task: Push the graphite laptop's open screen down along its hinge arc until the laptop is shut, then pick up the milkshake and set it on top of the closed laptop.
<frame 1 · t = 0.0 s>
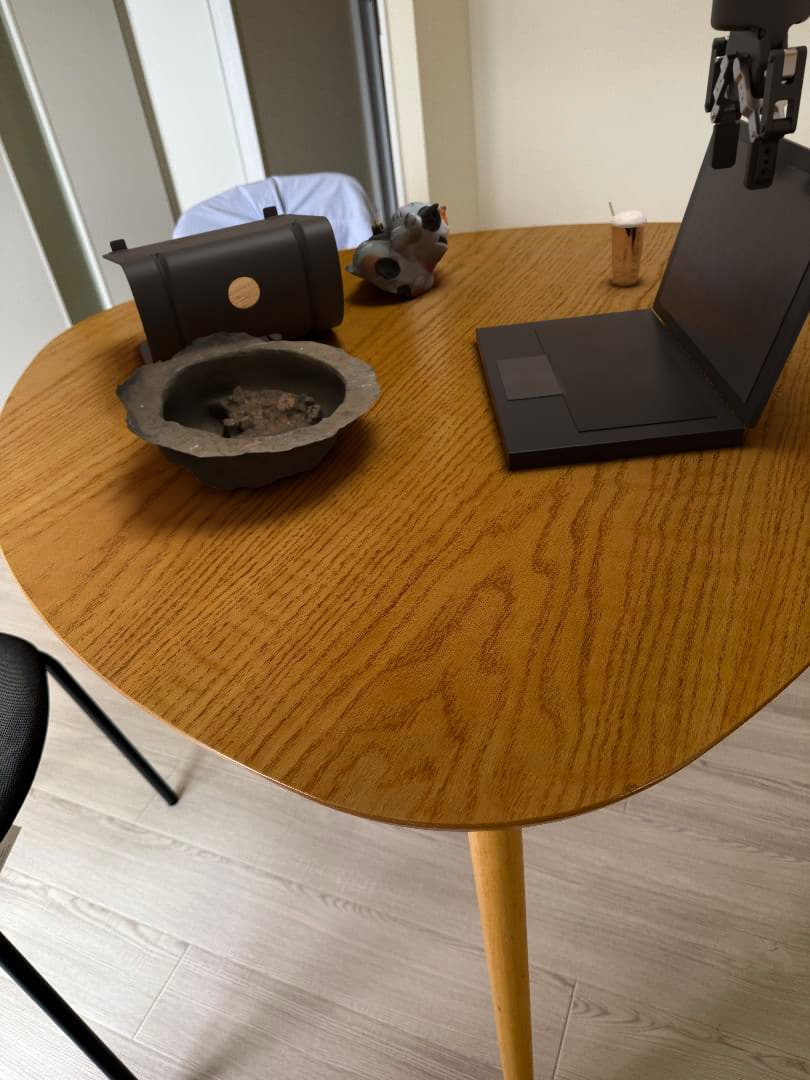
hand: (738, 177, 70), 19 cm above the table, tool pointing down, fingers open, 8 cm apart
lucky cat figurine: (402, 286, 115), on the table
dark piece: (240, 346, 103), on the table
milkshake: (622, 282, 106), on the table
tape measure: (703, 317, 94), on the table
stone bowl: (266, 450, 79), on the table
laptop: (589, 386, 83), on the table
laptop screen: (735, 257, 75), point 12 cm above the table, hinge at 105.0°
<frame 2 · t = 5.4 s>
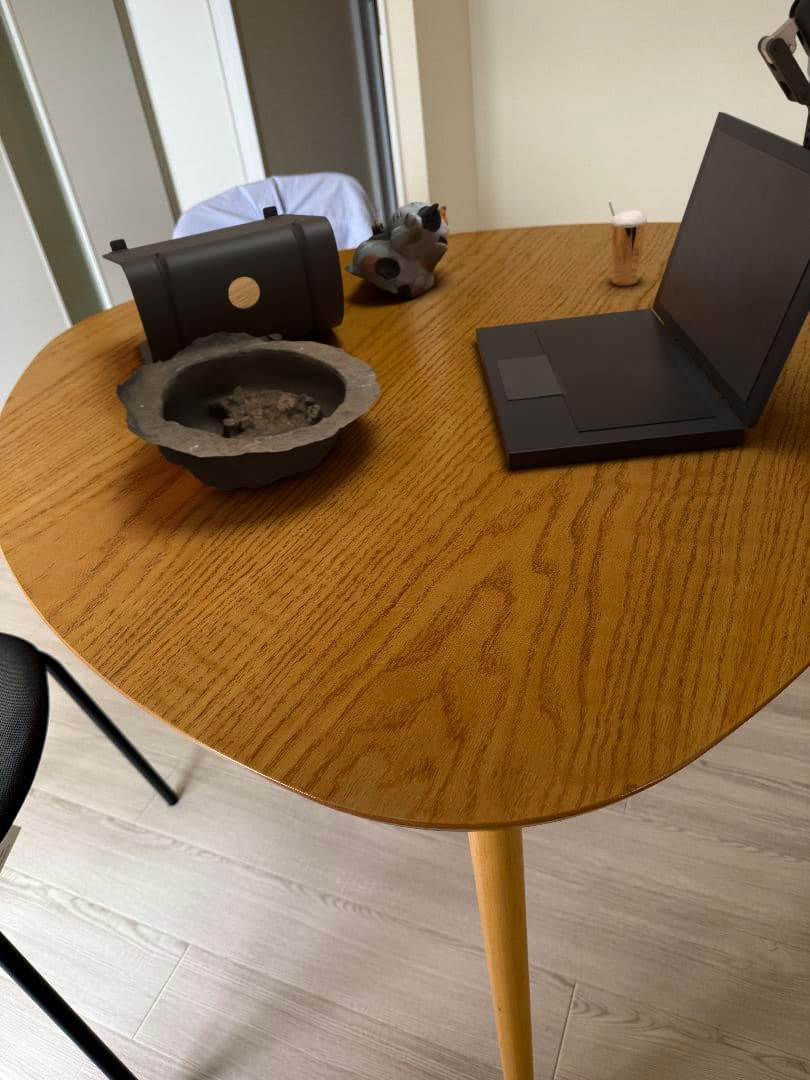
laptop screen: (735, 257, 75), point 12 cm above the table, hinge at 104.7°, touching gripper
everything else where it was.
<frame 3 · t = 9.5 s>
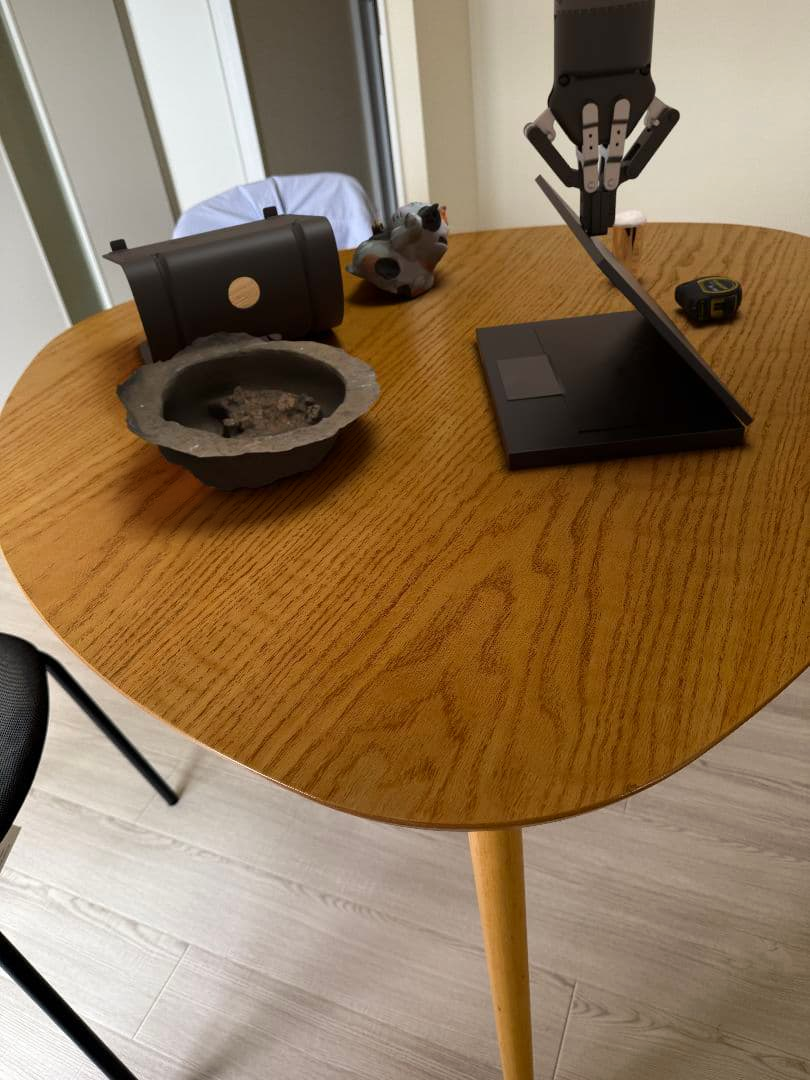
hand: (596, 233, 69), 17 cm above the table, tool pointing down, fingers closed
laptop screen: (632, 288, 77), point 10 cm above the table, hinge at 48.8°, touching gripper
everything else where it was.
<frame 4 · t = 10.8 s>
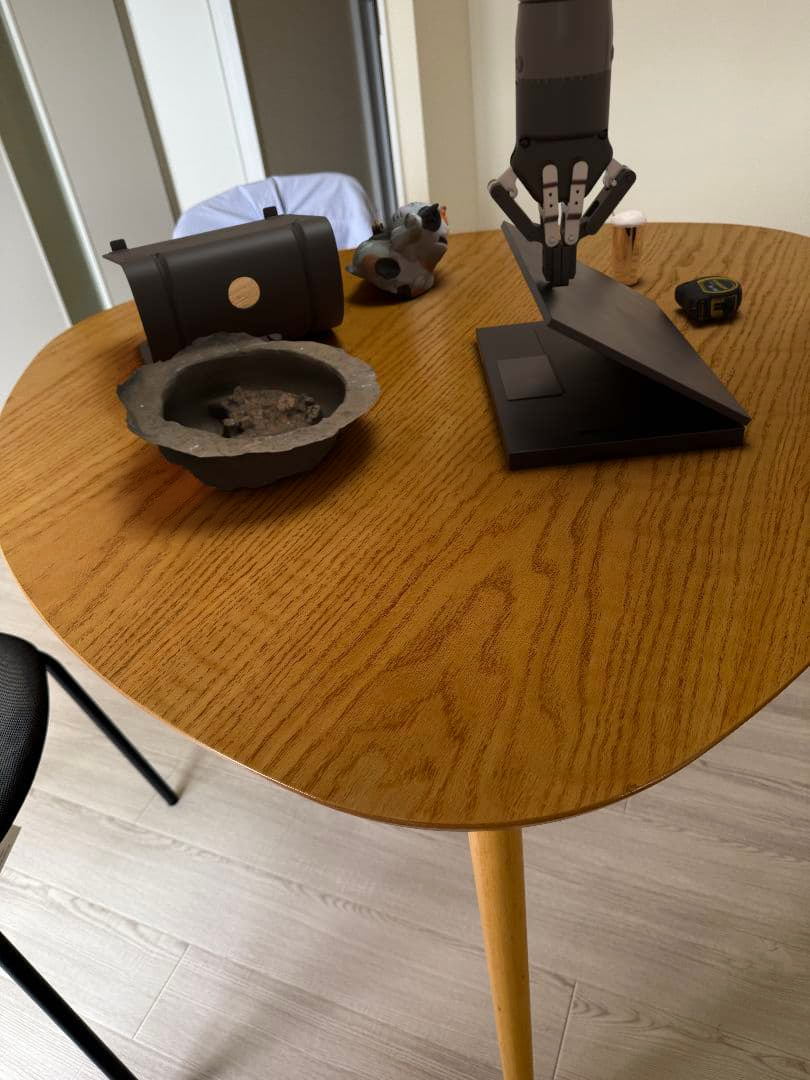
hand: (558, 284, 72), 13 cm above the table, tool pointing down, fingers closed
laptop screen: (610, 311, 78), point 8 cm above the table, hinge at 32.7°, touching gripper
everything else where it was.
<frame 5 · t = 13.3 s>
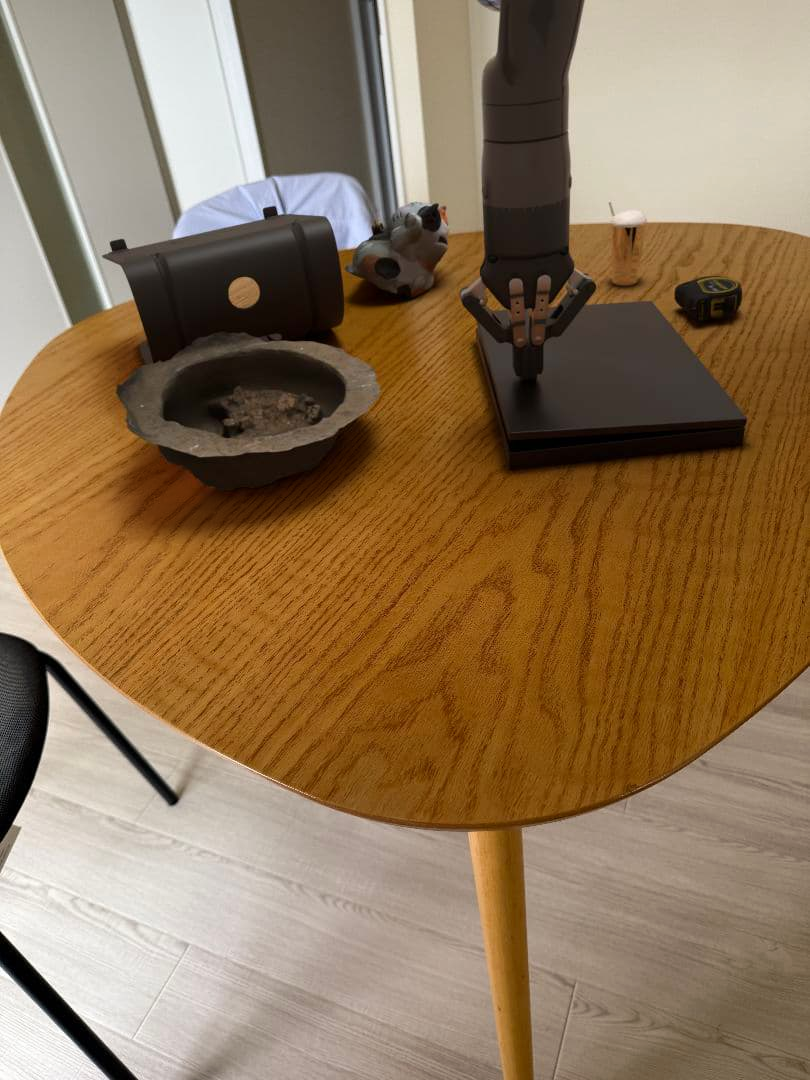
hand: (527, 377, 78), 4 cm above the table, tool pointing down, fingers closed
laptop screen: (590, 361, 81), point 3 cm above the table, hinge at 3.2°, touching gripper, laptop
everything else where it was.
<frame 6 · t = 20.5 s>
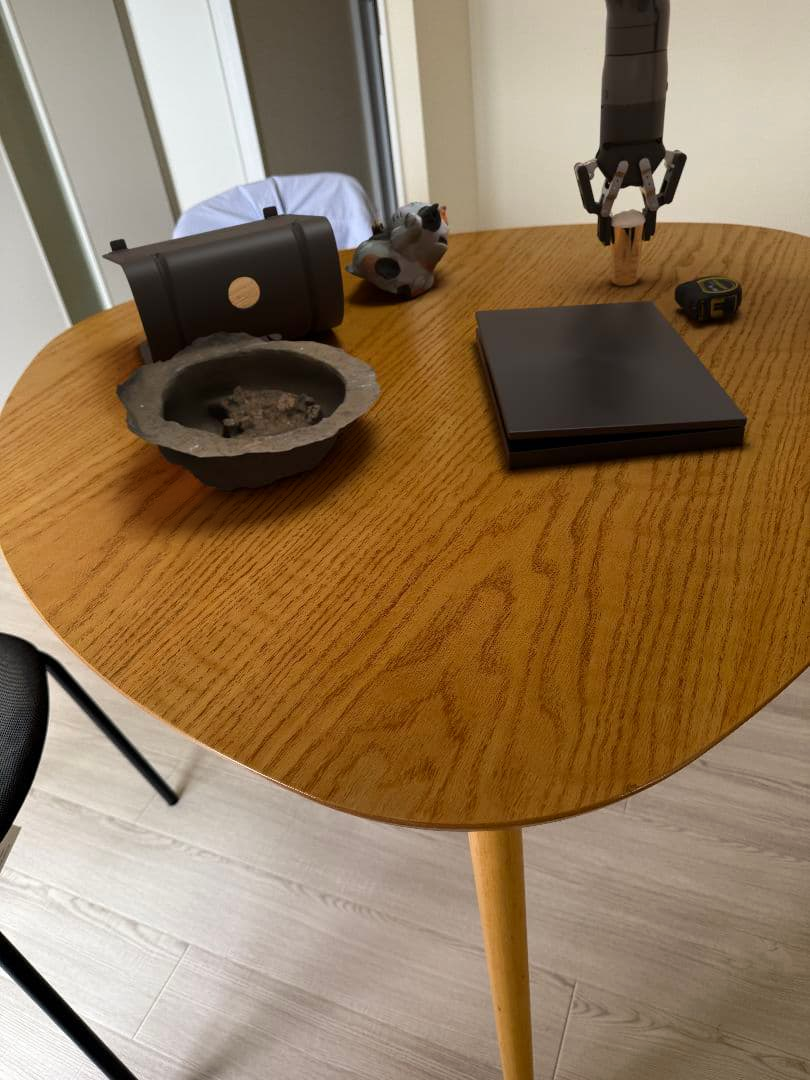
hand: (625, 241, 103), 5 cm above the table, tool pointing down, fingers closed on milkshake, 4 cm apart
milkshake: (622, 282, 106), on the table, touching gripper
laptop screen: (590, 360, 81), point 3 cm above the table, hinge at 3.4°, touching laptop
everything else where it was.
when the fingers open (9 cm above the table, at t = 27.9 s): milkshake stays where it is, resting on laptop screen.
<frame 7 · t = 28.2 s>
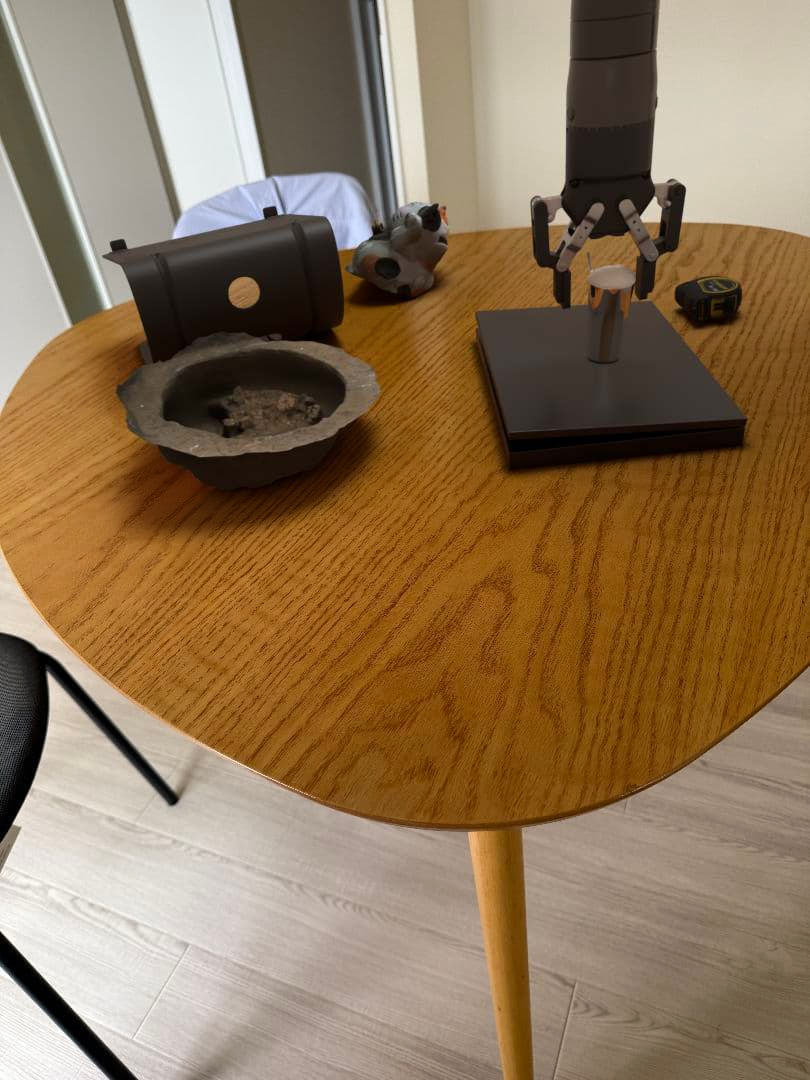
hand: (602, 301, 77), 9 cm above the table, tool pointing down, fingers open, 7 cm apart
milkshake: (599, 357, 81), point 3 cm above the table, touching laptop screen
laptop screen: (590, 360, 81), point 3 cm above the table, hinge at 3.4°, touching laptop, milkshake
everything else where it was.
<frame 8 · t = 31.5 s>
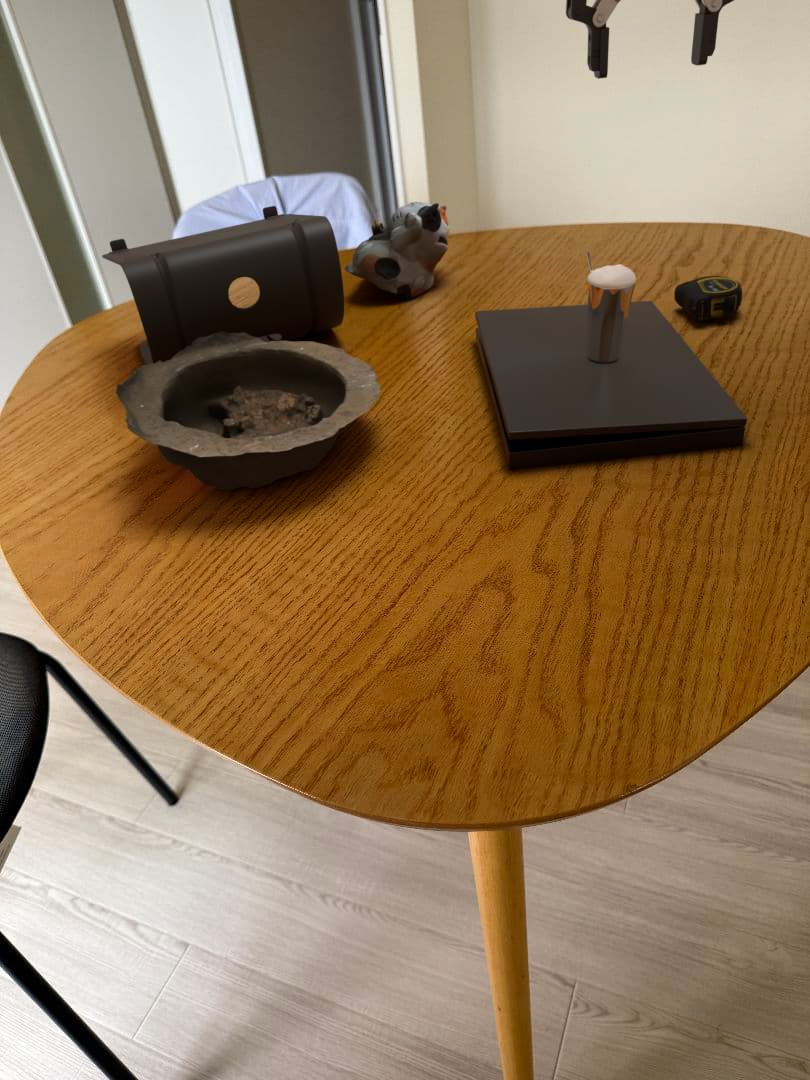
hand: (649, 70, 68), 28 cm above the table, tool pointing down, fingers open, 8 cm apart
nothing on the table moved.
at the end: laptop screen at +3° (first picture: +105°); milkshake inside the target area on the laptop (1.0 cm from its centre), point 3.1 cm above the laptop's base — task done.
